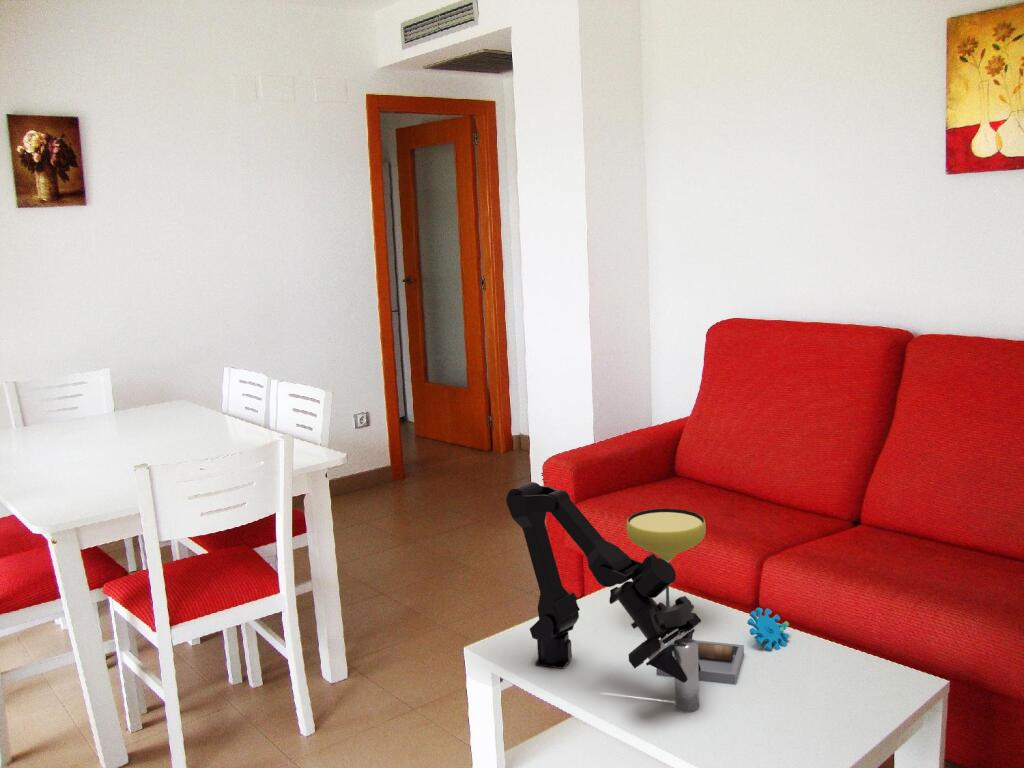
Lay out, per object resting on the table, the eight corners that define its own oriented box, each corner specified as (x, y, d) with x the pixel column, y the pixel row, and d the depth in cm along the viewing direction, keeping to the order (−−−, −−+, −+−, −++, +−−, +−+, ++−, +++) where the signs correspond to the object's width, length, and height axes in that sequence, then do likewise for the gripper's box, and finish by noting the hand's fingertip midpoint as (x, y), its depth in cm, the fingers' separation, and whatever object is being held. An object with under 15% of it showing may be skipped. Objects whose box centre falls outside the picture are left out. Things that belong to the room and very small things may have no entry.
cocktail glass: (669, 600, 236) (667, 503, 232) (723, 623, 221) (722, 520, 217) (613, 620, 226) (610, 519, 222) (666, 645, 211) (664, 538, 207)
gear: (763, 651, 203) (743, 608, 208) (747, 662, 207) (729, 620, 212) (801, 645, 208) (781, 603, 214) (785, 656, 212) (766, 615, 218)
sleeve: (673, 710, 184) (671, 647, 182) (677, 698, 188) (676, 637, 186) (697, 713, 182) (695, 649, 180) (700, 701, 186) (699, 639, 184)
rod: (697, 660, 203) (697, 647, 202) (700, 652, 206) (699, 640, 205) (731, 663, 200) (730, 650, 200) (733, 656, 203) (732, 643, 202)
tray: (656, 677, 197) (656, 665, 197) (669, 648, 210) (669, 637, 210) (735, 686, 192) (735, 674, 191) (743, 656, 204) (743, 645, 204)
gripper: (639, 603, 177) (693, 675, 172) (691, 573, 191) (742, 638, 185) (606, 633, 183) (656, 703, 178) (659, 601, 197) (707, 665, 192)
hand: (692, 676), depth 183 cm, fingers closed on sleeve, 5 cm apart
